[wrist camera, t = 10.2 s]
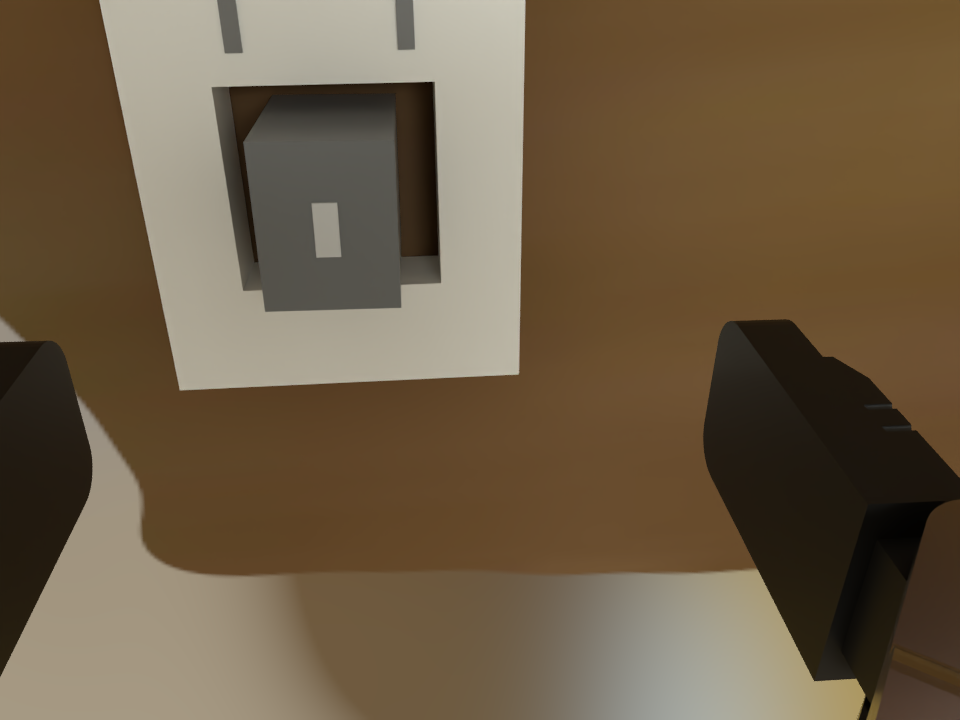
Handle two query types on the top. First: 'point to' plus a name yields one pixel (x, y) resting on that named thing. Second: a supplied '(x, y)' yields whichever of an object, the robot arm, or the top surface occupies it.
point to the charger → (326, 201)
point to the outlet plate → (221, 202)
